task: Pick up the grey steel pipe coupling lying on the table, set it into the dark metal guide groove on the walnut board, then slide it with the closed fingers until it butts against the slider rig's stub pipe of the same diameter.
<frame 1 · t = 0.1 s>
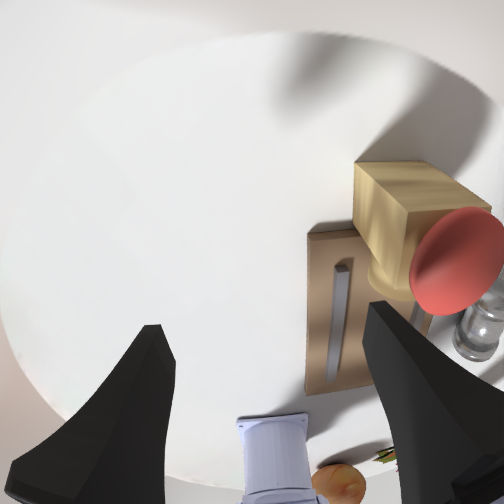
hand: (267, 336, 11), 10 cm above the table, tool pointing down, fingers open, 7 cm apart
pipe coupling: (472, 302, 25), on the table
slider rig: (373, 310, 24), on the table
onion: (331, 464, 43), on the table
lily flower: (401, 445, 44), on the table
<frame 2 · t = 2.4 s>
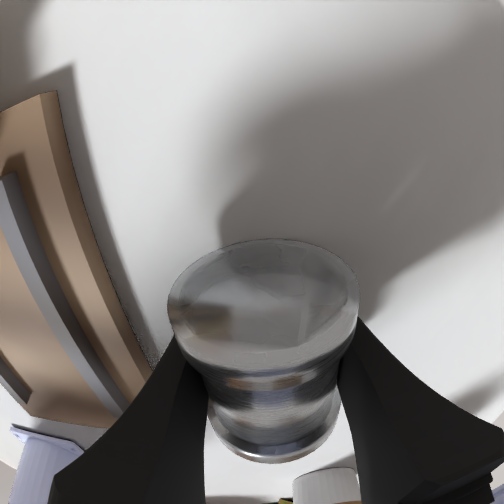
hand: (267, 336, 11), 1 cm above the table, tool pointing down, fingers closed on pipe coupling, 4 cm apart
pipe coupling: (264, 309, 12), on the table, touching gripper
slider rig: (16, 297, 11), on the table
coffee cup: (323, 476, 24), on the table
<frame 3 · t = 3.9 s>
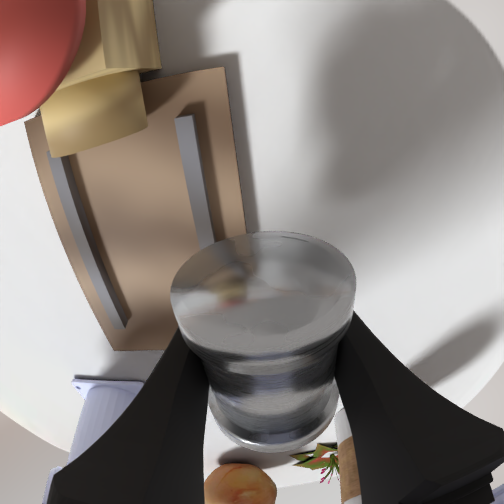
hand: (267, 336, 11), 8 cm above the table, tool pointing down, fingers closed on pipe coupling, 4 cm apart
pipe coupling: (271, 300, 12), point 6 cm above the table, tilted 6°, touching gripper
slider rig: (146, 220, 17), on the table
onion: (237, 463, 37), on the table
coffee cup: (360, 411, 30), on the table
lily flower: (330, 450, 37), on the table
when the fingers open (3 cm above the table, at t = 5.7 s): pipe coupling stays where it is, resting on slider rig.
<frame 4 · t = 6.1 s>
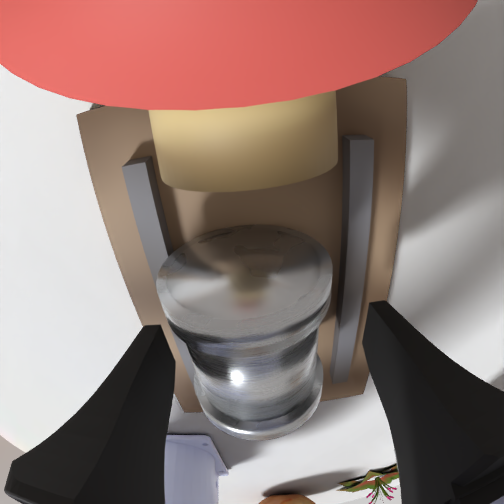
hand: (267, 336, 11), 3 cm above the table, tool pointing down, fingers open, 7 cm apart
pipe coupling: (270, 292, 13), point 1 cm above the table, tilted 18°, touching slider rig
slider rig: (260, 268, 13), on the table
onion: (282, 493, 33), on the table
lily flower: (375, 473, 33), on the table
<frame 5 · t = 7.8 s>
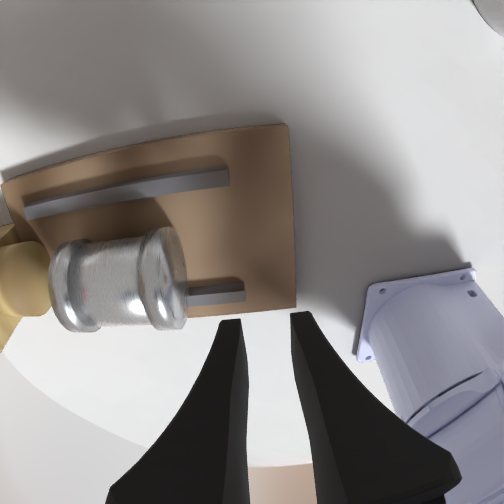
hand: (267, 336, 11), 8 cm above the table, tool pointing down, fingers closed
pipe coupling: (128, 244, 17), point 1 cm above the table, tilted 20°, touching slider rig
slider rig: (129, 240, 18), on the table
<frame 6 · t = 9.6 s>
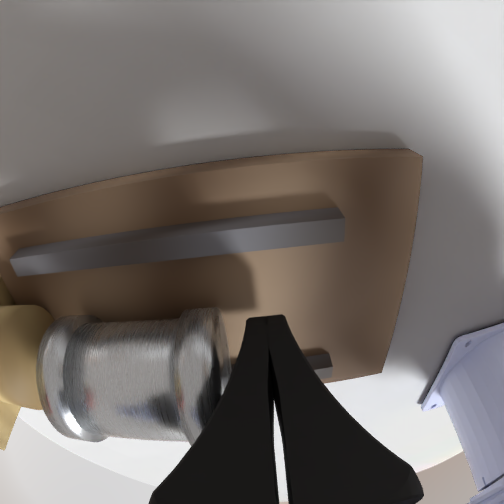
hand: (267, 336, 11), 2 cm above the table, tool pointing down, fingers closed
pipe coupling: (145, 318, 12), point 1 cm above the table, tilted 24°, touching gripper
slider rig: (170, 301, 13), on the table
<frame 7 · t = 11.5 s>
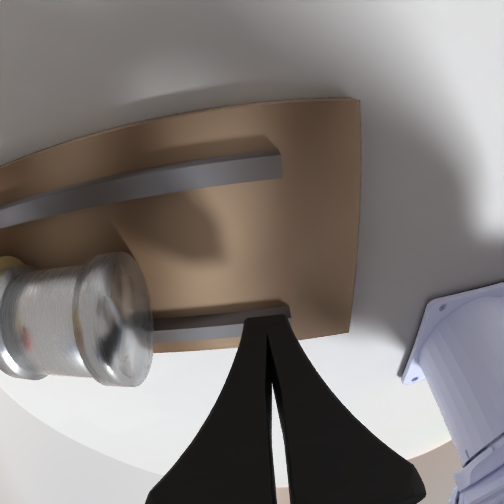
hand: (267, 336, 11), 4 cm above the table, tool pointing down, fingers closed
pipe coupling: (76, 269, 12), point 1 cm above the table, tilted 24°, touching slider rig
slider rig: (134, 252, 14), on the table
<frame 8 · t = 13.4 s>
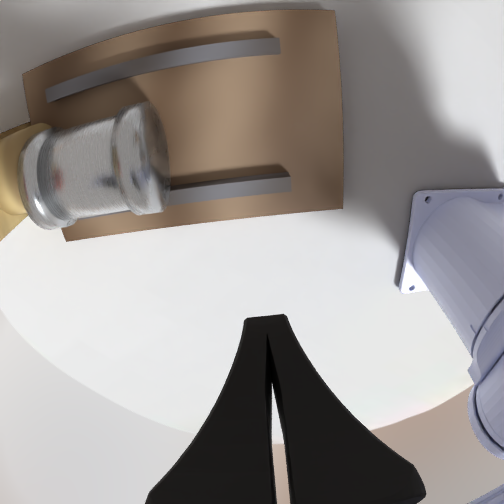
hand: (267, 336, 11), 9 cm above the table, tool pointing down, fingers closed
pipe coupling: (109, 136, 15), point 1 cm above the table, tilted 24°, touching slider rig
slider rig: (159, 127, 16), on the table
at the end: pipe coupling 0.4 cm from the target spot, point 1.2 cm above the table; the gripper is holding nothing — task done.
